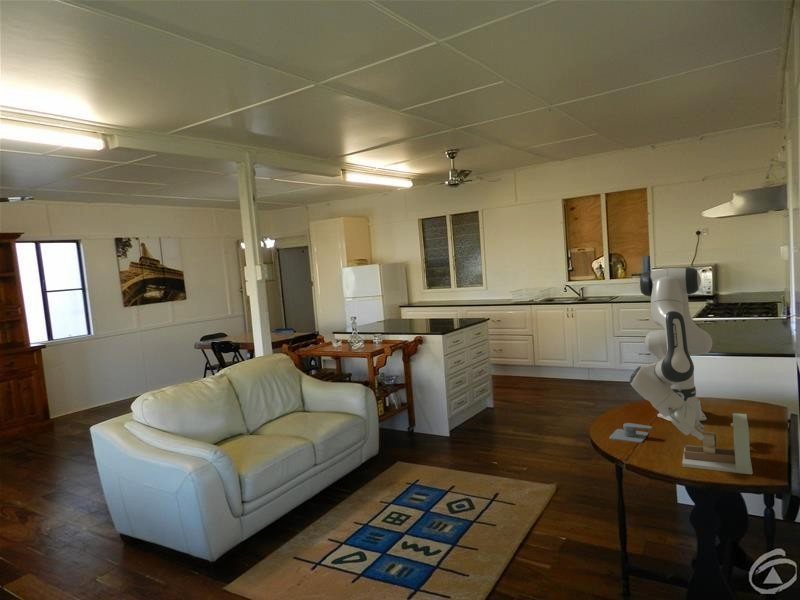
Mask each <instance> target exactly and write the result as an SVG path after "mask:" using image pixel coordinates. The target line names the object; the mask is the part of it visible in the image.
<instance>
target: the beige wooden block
mask: <svg viewBox="0 0 800 600" xmlns="http://www.w3.org/2000/svg"><path fill="white" fill-rule="evenodd" d="M702 434H703V435H704V439H702V447H703V453H712V454H715V448H717V436H716V434H715V432H712V431H710V432H707V431H702Z"/></svg>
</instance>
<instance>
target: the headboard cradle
mask: <svg viewBox="0 0 800 600" xmlns="http://www.w3.org/2000/svg"><path fill="white" fill-rule="evenodd" d="M732 423H733V427H732V428H733V430H732V431H733V449H731V448H720V447H715V454H712V453H703V445H691V444H690V445H688V444H685V445H684V449H683V455H682V466H681V467H682V468H691V469H700V470H708V471H717V472H727V473H733V474H734V473H735V474H743V475H744V474H745V475H752V474H753V467H752V461H751V452H750V451H751V450H750V448H751V447H749V440H750V428H749V422H748V417H747V413H732Z"/></svg>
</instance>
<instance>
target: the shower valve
mask: <svg viewBox="0 0 800 600" xmlns="http://www.w3.org/2000/svg"><path fill="white" fill-rule="evenodd" d="M622 425H623V426H622V427H623V428H617V429H616V430H614V431H613V432H612V434H610V436H608V437H609V440H613V441H619V440H620V441H621V442H626V441H627V442H628V443H634V442H635V443H634V444H642V443H643V442H644V441H645V439H646V438H647V437H648V435H649V432H648V431H640V430H641V429H643V430H652V428H653V426H650V425H646V424H645V425H644V424H640V423H639V424H638V423H633V422H632V423H631V422H625V423H623V424H622ZM637 429H639V430H637ZM646 436H647V437H646ZM627 442H626V443H627Z"/></svg>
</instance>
